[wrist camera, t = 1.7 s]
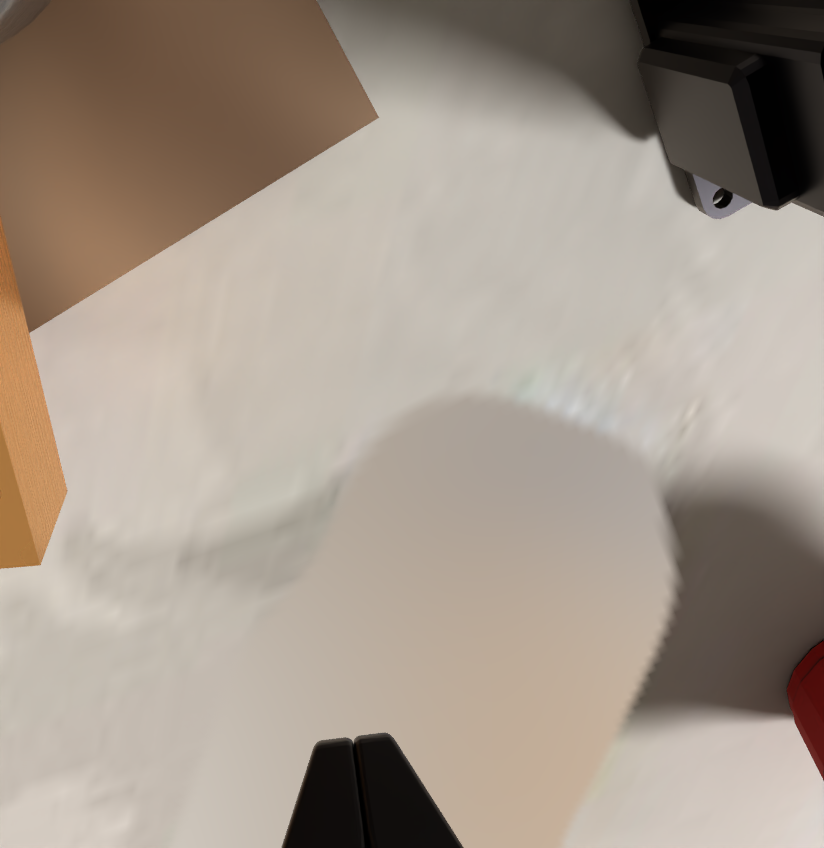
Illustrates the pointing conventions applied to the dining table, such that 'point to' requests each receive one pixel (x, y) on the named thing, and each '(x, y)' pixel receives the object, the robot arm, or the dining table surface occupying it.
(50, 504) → the wood-handled metal tool
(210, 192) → the base plate
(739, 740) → the dining table surface
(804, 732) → the plastic cup
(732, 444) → the dining table surface
